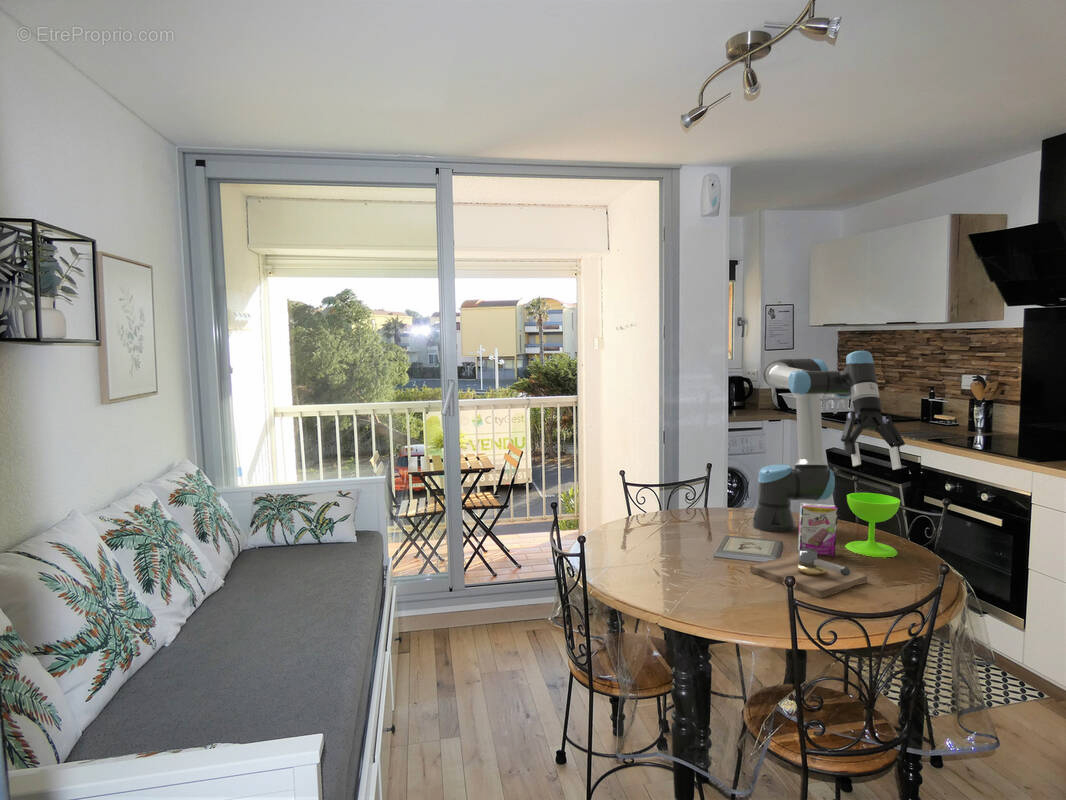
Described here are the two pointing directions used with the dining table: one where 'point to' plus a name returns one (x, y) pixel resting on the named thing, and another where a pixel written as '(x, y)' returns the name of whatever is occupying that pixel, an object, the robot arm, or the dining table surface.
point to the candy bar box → (818, 528)
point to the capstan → (817, 564)
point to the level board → (806, 576)
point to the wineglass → (872, 521)
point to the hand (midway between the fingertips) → (877, 467)
